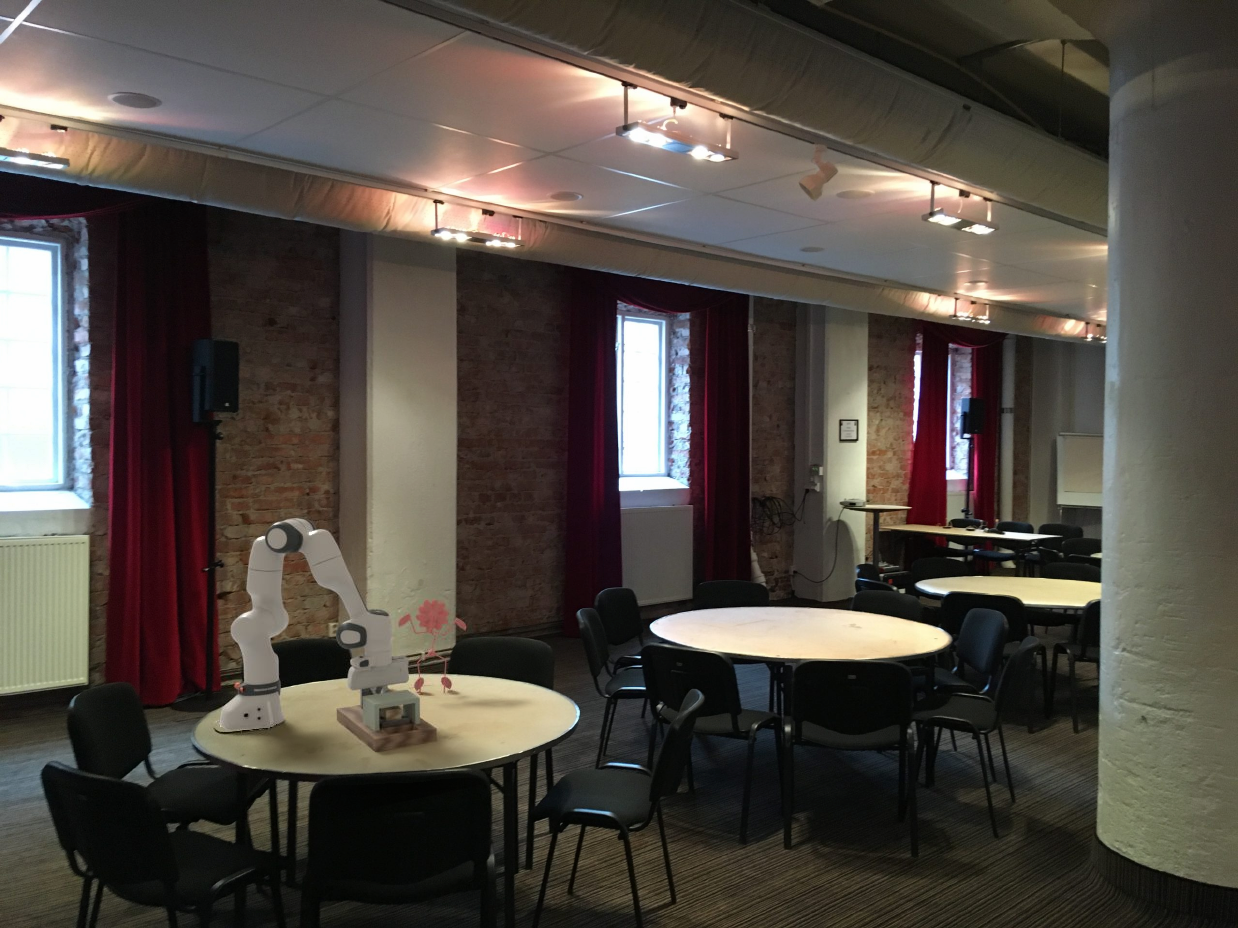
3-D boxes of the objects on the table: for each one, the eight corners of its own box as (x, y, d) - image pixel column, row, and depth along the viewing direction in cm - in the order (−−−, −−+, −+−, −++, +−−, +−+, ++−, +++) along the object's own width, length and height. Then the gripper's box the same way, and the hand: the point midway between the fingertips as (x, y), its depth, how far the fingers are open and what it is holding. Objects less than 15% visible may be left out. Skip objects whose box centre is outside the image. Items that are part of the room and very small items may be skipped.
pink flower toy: (466, 693, 365) (465, 600, 365) (397, 696, 363) (396, 603, 363) (468, 684, 381) (467, 595, 381) (401, 686, 378) (400, 597, 378)
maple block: (386, 725, 311) (386, 710, 311) (381, 722, 315) (381, 706, 315) (401, 723, 313) (401, 707, 313) (396, 719, 318) (396, 704, 318)
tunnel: (374, 731, 305) (374, 704, 305) (362, 722, 315) (362, 696, 315) (420, 723, 313) (419, 697, 313) (407, 714, 323) (406, 689, 323)
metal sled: (382, 727, 308) (382, 696, 308) (360, 711, 327) (360, 681, 327) (409, 722, 313) (409, 692, 313) (386, 707, 332) (386, 678, 332)
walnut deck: (375, 751, 297) (375, 738, 297) (336, 720, 332) (336, 708, 332) (436, 740, 308) (436, 728, 308) (393, 710, 342) (393, 699, 342)
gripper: (405, 652, 332) (405, 692, 332) (345, 660, 321) (346, 701, 321) (411, 656, 327) (411, 696, 327) (351, 663, 316) (352, 705, 316)
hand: (378, 699), depth 324 cm, fingers closed
